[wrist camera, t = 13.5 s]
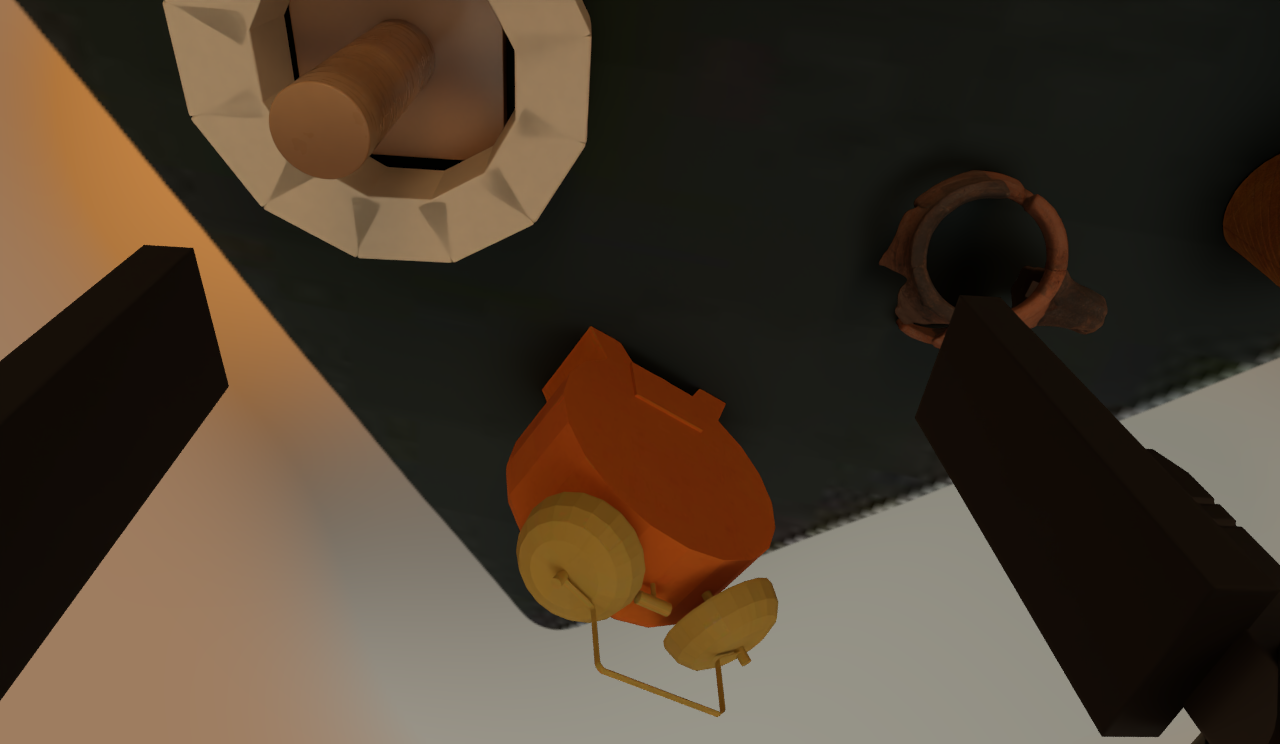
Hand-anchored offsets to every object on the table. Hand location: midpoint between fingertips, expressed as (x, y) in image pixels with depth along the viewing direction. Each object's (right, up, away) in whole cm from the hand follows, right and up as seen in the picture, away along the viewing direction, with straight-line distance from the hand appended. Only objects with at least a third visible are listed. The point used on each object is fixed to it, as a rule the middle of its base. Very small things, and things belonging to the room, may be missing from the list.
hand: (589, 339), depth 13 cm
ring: (-9, +13, +20) cm, 26 cm away
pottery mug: (+19, +6, +29) cm, 35 cm away
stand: (-10, +14, +21) cm, 27 cm away
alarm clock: (0, -2, +33) cm, 33 cm away
